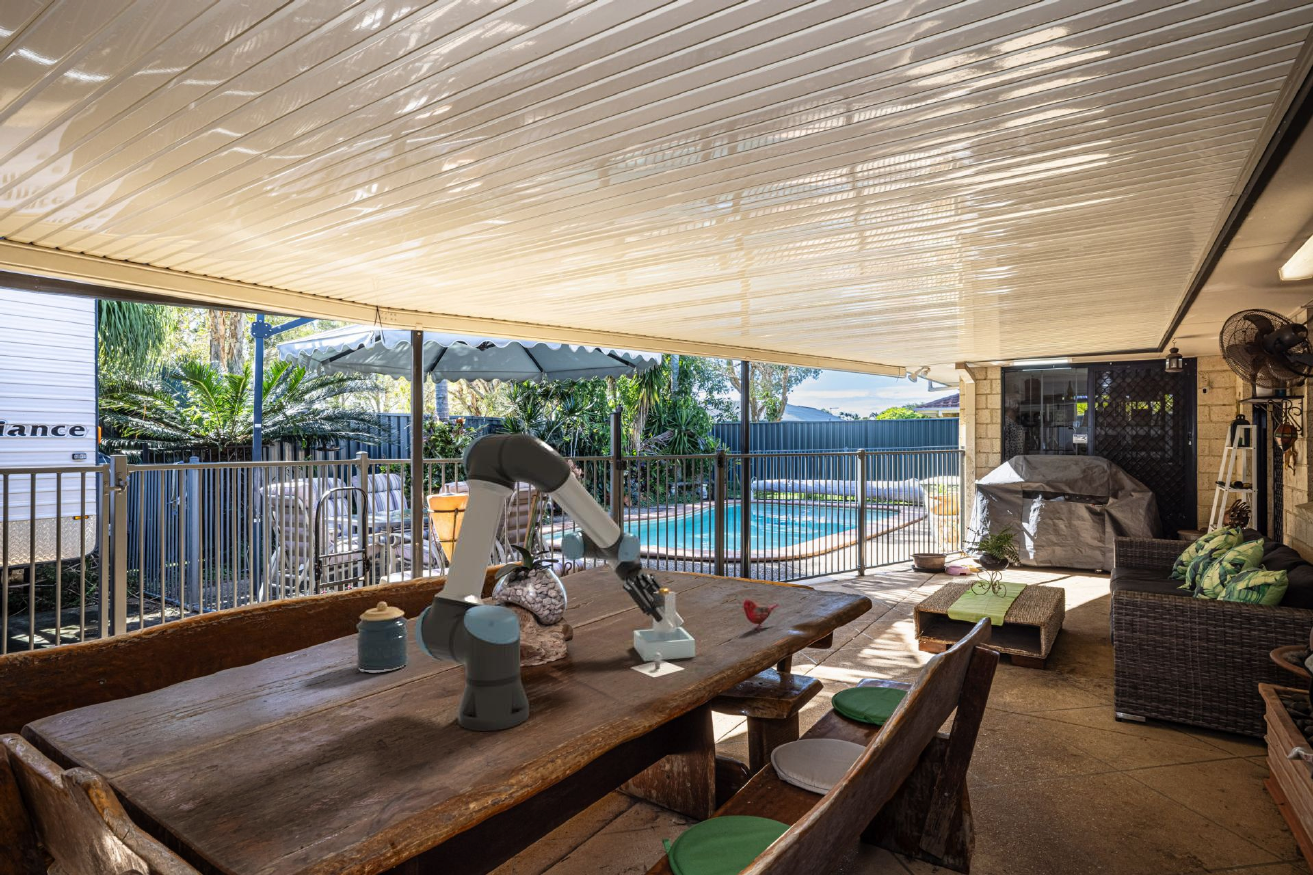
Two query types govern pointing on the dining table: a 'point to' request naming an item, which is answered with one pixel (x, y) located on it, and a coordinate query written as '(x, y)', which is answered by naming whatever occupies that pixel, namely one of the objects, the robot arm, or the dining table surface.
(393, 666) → the canister
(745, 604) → the decorative bird figurine
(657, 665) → the stud base
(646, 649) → the bin
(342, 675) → the dining table surface
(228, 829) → the dining table surface
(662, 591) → the strut
